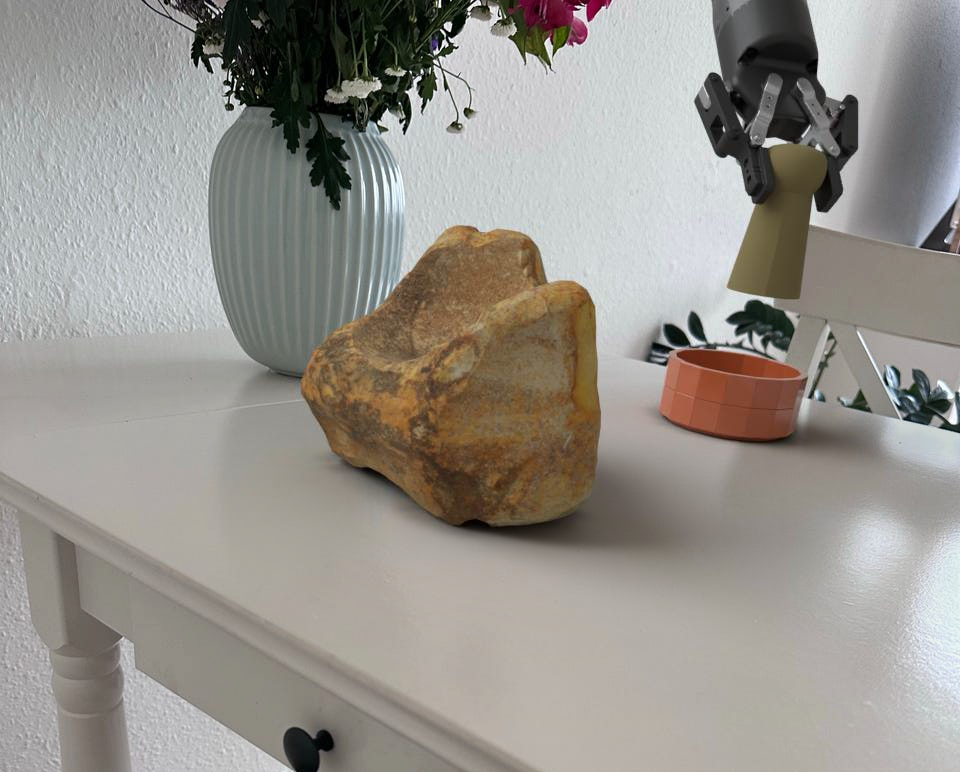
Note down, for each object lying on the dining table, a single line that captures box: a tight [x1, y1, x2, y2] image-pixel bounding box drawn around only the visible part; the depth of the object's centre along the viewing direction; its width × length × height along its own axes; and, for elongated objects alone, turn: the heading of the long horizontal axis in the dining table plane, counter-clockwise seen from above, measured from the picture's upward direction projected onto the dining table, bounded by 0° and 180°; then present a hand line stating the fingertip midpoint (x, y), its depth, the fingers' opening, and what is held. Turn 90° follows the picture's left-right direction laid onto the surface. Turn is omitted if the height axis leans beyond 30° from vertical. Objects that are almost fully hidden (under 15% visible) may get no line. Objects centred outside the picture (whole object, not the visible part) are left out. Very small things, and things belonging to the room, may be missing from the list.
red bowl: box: [658, 347, 809, 442], centre depth 85 cm, size 12×12×6 cm
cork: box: [726, 142, 827, 300], centre depth 77 cm, size 6×6×11 cm
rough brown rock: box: [300, 224, 602, 527], centre depth 60 cm, size 23×17×15 cm
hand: (797, 200), depth 75 cm, fingers closed on cork, 5 cm apart
